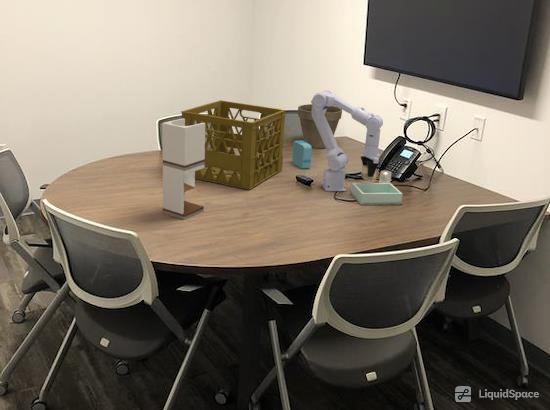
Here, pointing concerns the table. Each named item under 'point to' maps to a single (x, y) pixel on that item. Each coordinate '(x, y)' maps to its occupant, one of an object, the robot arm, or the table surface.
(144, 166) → the table surface
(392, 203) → the tote
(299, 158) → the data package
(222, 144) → the milk crate
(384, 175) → the metal cylinder
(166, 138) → the notched white pedestal
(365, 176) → the maple block
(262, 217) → the table surface
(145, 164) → the table surface
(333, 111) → the plant pot
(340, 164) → the robot arm
